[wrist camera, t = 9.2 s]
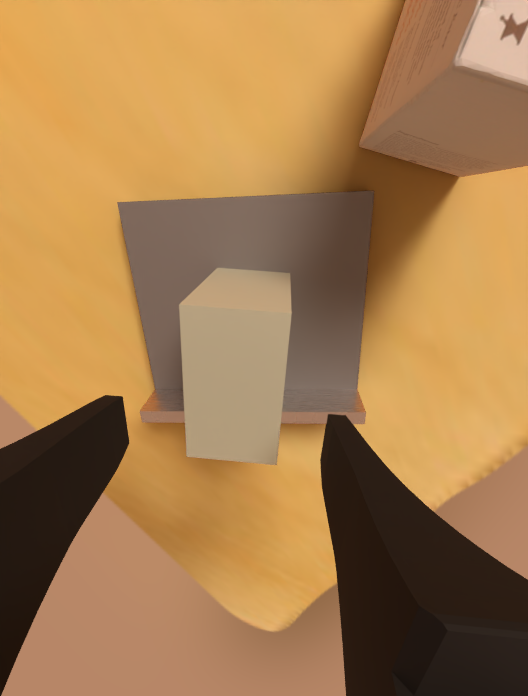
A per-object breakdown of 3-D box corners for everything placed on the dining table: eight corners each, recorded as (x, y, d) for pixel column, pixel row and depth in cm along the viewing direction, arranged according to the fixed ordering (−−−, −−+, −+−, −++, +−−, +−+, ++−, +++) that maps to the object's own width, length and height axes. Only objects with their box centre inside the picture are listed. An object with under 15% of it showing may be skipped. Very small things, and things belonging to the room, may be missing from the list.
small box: (459, 179, 17) (692, 150, 7) (354, 147, 16) (447, 74, 7) (557, -36, 13) (1244, -633, 4) (428, -79, 13) (809, -837, 4)
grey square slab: (164, 392, 23) (143, 425, 20) (127, 202, 18) (90, 202, 15) (352, 392, 22) (364, 426, 19) (368, 191, 17) (388, 188, 14)
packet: (216, 378, 21) (185, 456, 15) (216, 267, 18) (177, 304, 12) (279, 383, 21) (276, 465, 14) (290, 273, 18) (291, 313, 12)
